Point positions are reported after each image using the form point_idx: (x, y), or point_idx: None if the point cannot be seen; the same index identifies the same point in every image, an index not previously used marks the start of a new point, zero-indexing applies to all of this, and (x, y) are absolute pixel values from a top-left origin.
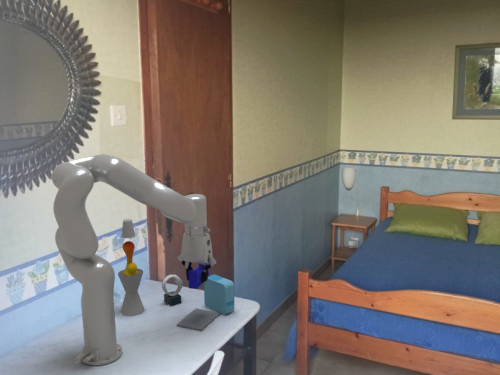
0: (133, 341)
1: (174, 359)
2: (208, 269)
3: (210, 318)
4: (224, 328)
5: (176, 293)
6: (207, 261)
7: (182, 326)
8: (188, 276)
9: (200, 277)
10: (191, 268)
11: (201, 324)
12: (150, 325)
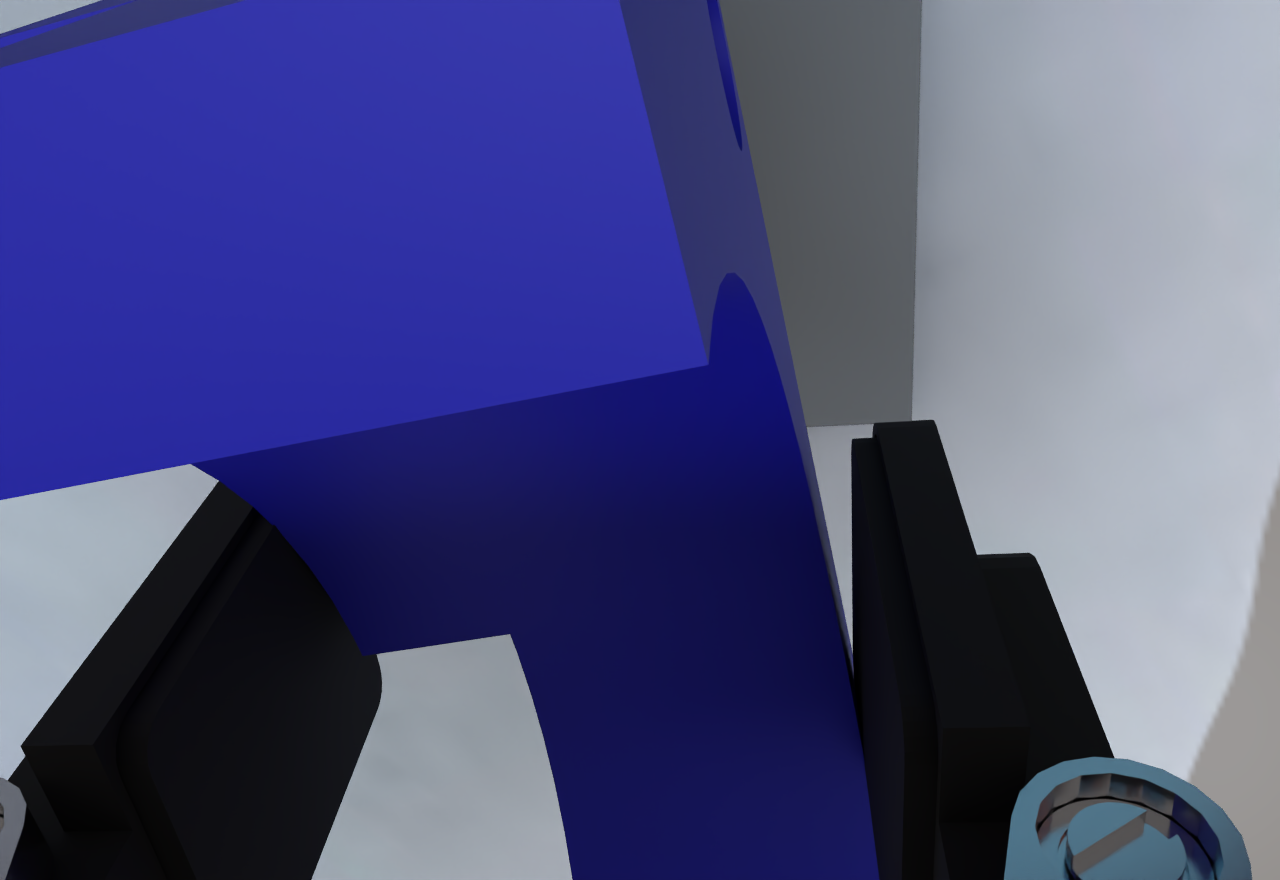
0: (349, 830)
1: None
2: (1207, 876)
3: (863, 49)
4: (1211, 196)
5: None
6: (684, 267)
7: None
8: (337, 795)
9: (689, 564)
10: (182, 833)
11: (829, 298)
12: None
